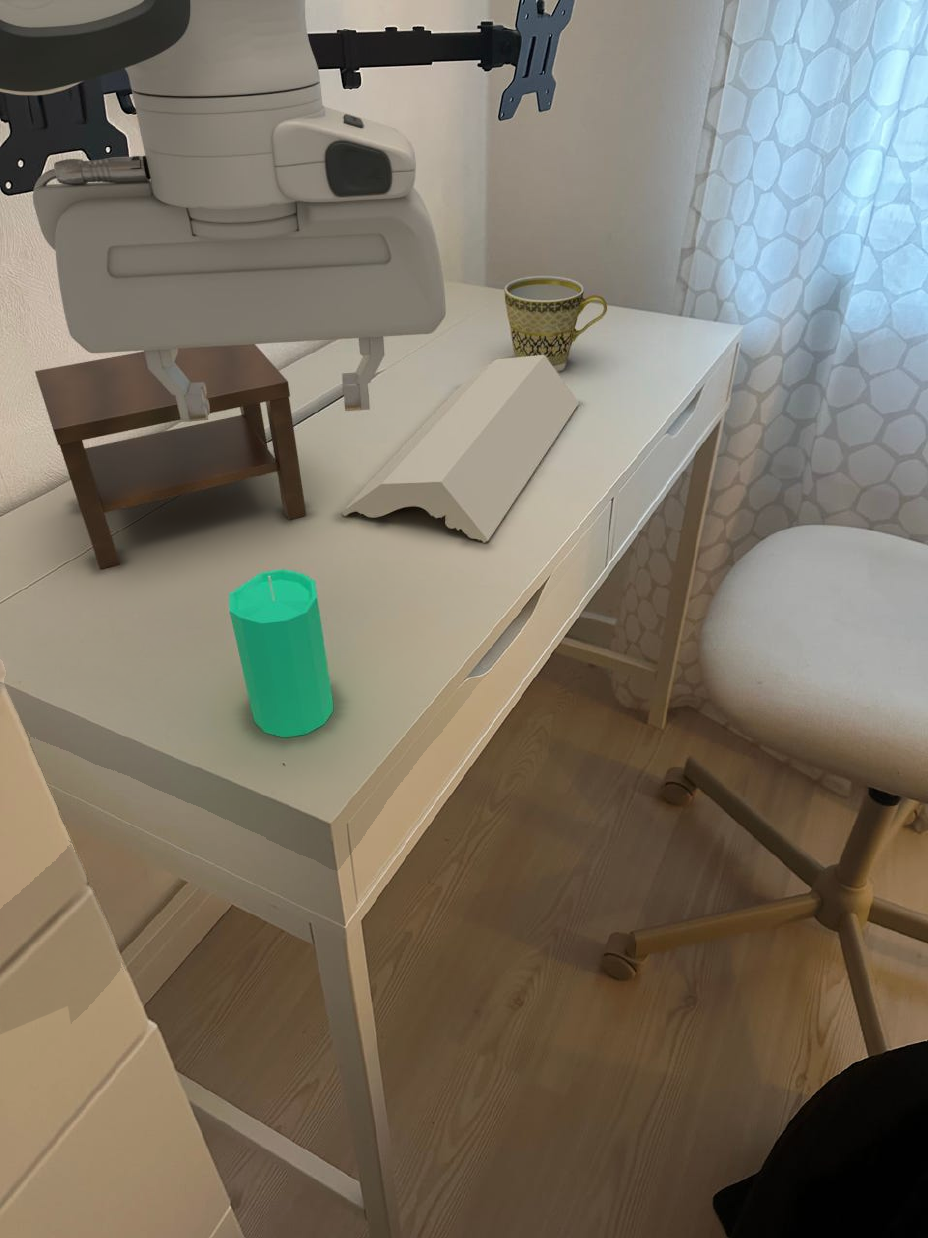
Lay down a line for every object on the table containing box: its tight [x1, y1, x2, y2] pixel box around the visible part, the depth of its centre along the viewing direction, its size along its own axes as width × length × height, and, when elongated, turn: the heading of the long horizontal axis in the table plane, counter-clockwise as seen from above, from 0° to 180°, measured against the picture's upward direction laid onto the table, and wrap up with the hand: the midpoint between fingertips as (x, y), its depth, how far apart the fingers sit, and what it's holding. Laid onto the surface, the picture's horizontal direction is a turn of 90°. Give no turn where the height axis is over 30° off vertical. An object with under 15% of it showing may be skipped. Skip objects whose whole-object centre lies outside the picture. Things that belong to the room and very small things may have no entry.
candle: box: [228, 568, 334, 738], centre depth 63 cm, size 6×6×12 cm
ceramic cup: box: [503, 275, 608, 373], centre depth 114 cm, size 13×10×10 cm
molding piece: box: [341, 355, 580, 544], centre depth 98 cm, size 32×12×10 cm
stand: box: [34, 344, 307, 570], centre depth 86 cm, size 20×14×14 cm
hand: (277, 412), depth 53 cm, fingers open, 8 cm apart
